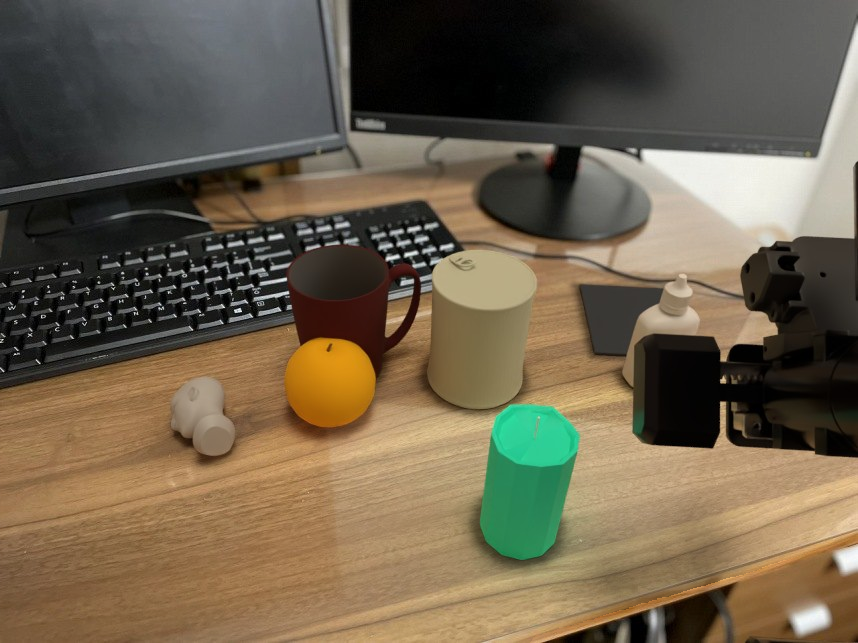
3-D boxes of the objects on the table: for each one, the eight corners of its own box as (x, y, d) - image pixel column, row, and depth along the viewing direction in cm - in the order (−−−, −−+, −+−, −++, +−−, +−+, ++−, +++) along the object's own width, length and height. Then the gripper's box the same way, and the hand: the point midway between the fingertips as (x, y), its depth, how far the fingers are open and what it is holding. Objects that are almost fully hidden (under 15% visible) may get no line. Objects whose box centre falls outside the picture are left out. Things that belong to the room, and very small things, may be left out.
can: (474, 333, 70) (483, 233, 62) (542, 378, 65) (560, 276, 57) (407, 372, 65) (408, 269, 57) (475, 425, 60) (486, 319, 52)
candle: (562, 561, 49) (591, 453, 42) (481, 558, 49) (496, 451, 42) (551, 494, 54) (576, 387, 47) (477, 492, 54) (490, 384, 47)
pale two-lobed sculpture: (179, 415, 61) (230, 388, 62) (191, 479, 55) (247, 449, 56) (154, 385, 58) (208, 358, 59) (163, 450, 52) (223, 419, 53)
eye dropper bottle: (621, 357, 67) (649, 257, 60) (679, 368, 67) (714, 267, 59) (620, 387, 64) (649, 284, 57) (681, 398, 63) (719, 295, 56)
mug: (405, 324, 70) (406, 234, 64) (432, 380, 64) (436, 285, 57) (290, 346, 67) (279, 252, 60) (307, 406, 61) (295, 309, 54)
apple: (270, 406, 61) (260, 343, 56) (339, 367, 65) (335, 305, 61) (324, 456, 56) (317, 392, 52) (394, 411, 61) (394, 348, 56)
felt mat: (693, 359, 68) (694, 357, 67) (594, 354, 68) (595, 352, 68) (666, 290, 77) (667, 288, 77) (579, 286, 77) (579, 284, 77)
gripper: (1091, 234, 31) (873, 288, 47) (687, 214, 31) (605, 275, 47) (1105, 478, 30) (877, 450, 45) (684, 454, 30) (601, 435, 46)
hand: (738, 397), depth 46 cm, fingers closed
